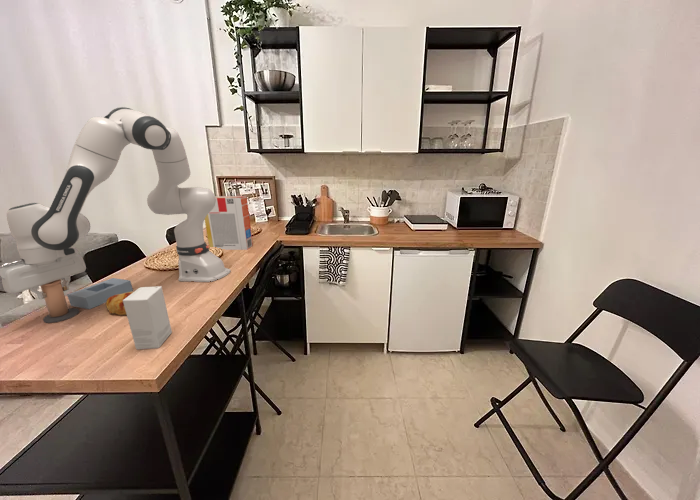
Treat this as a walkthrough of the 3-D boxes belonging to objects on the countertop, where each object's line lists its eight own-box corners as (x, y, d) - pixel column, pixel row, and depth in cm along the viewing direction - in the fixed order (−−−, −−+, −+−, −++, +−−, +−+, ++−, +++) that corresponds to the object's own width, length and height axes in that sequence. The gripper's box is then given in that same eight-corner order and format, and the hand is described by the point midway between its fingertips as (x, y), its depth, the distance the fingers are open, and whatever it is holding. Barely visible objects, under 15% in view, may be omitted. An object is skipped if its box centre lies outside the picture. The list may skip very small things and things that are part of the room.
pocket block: (133, 290, 120) (130, 280, 118) (89, 309, 105) (85, 297, 104) (115, 287, 123) (112, 277, 121) (70, 305, 108) (66, 294, 107)
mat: (85, 311, 104) (85, 309, 104) (54, 324, 96) (54, 323, 95) (68, 308, 107) (68, 306, 106) (37, 320, 98) (36, 319, 98)
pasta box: (252, 245, 179) (246, 195, 170) (247, 249, 171) (240, 197, 162) (216, 245, 181) (208, 196, 172) (209, 249, 173) (200, 198, 164)
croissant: (104, 316, 108) (86, 303, 102) (126, 294, 114) (111, 281, 109) (141, 326, 99) (124, 313, 94) (163, 302, 106) (148, 288, 100)
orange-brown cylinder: (73, 311, 102) (64, 279, 99) (55, 318, 98) (45, 285, 94) (63, 308, 104) (54, 277, 100) (45, 315, 99) (35, 282, 95)
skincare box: (151, 333, 90) (139, 286, 85) (174, 332, 90) (163, 285, 85) (134, 350, 82) (120, 299, 77) (159, 349, 82) (146, 298, 77)
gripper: (1, 266, 84) (19, 310, 88) (82, 246, 103) (93, 283, 107) (-12, 264, 86) (6, 307, 90) (70, 245, 104) (82, 281, 108)
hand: (54, 294), depth 98 cm, fingers closed on orange-brown cylinder, 5 cm apart
